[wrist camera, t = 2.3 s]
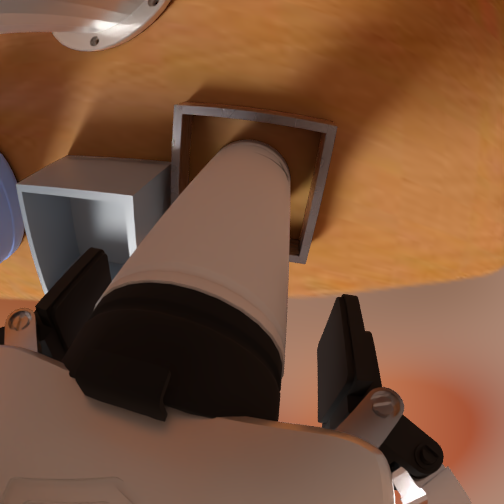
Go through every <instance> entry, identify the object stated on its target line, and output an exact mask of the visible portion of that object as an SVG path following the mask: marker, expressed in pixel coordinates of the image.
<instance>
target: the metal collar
mask: <svg viewBox="0 0 504 504" xmlns="http://www.w3.org/2000/svg"><path fill="white" fill-rule="evenodd" d="M193 115H204V116H215V117H225V118H234V119H243V120H250V121H258V122H265V123H272V124H278V125H284V126H290V127H296V128H302V129H307V130H312V131H317V132H322V133H321V138H320V144H319V149H318V154H317V159H316V164H315V169H314V173H313V178H312V183H311V188H310V192H309V197H308V202H307V206H306V211H305V215H304V220H303V224H302V229H301V233H300V238H299V240H296V239H291V238H290V242H289V262H295V263H301V264H306V260H307V256H308V252H309V249H310V245H311V241H312V237H313V233H314V229H315V225H316V221H317V217H318V212H319V208H320V204H321V200H322V196H323V191H324V187H325V183H326V178H327V174H328V169H329V165H330V160H331V155H332V151H333V146H334V141H335V136H336V131H337V126H336V125H335V124H334V123H333V121H329V120H324V119H319V118H314V117H309V116H303V115H298V114H292V113H286V112H280V111H274V110H267V109H260V108H252V107H244V106H235V105H225V104H214V103H201V102H183V103H179V104H176V105H174V117H173V135H172V161H171V205H172V204H173V202H174V201H175V200H176V199H177V198H178V197H179V195H180V194H181V193H182V192H183V191H184V190H185V188H186V187H187V186H188V185H189V168H190V149H191V134H192V120H193Z"/></svg>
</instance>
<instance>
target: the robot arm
mask: <svg viewBox="0 0 504 504" xmlns="http://www.w3.org/2000/svg"><path fill="white" fill-rule="evenodd" d="M157 1H159V2H158V4H157V5H156V6H155V4H156V2H157ZM170 1H171V0H0V34H4V33H21V32H52V34H53V35H54V37H55V38H56V39H57V40H58V41H59V42H60V43H61V44H62V45H64V46H66V47H68V48H70V49H73V50H78V51H101V50H106V49H109V48H113V47H116V46H118V45H120V44H123V43H125V42H127V41H129V40H130V39H132V38H133V37H135V36H137V35H138V34H140V33H141V32H142V31H144V30H145V29H146V28H147V27H148V26H149V25H151V24H152V23H153V22H154V21H155V20H156V19H157V18H158V16H159V15H160V14H161V13H162V12H163V11H164V10H165V8H166V7H167V5H168V4H169V2H170ZM111 282H112V280H111V274H110V268H109V262H108V256H107V254H105V252H104V250H102V249H98V248H93V247H90V248H89V249H88V250H87V251H86V252H85V253H84V254H83V255H82V256H81V257H80V258H79V259H78V260H77V261H76V262H75V263H74V264H73V265H72V266H71V267H70V268H69V269H68V271H67V272H66V273H65V274H64V275H63V276H62V277H61V278H60V279H59V280H58V281H57V282H56V283H55V285H54V286H53V287H52V288H51V289H50V290H49V291H48V292H47V293H46V295H45V296H44V297H43V298H42V299H41V300H40V301H39V303H38V304H37V305H36V306H35V307H36V310H35V312H33V311H32V310H31V309H28V308H20V309H17V310H15V311H13V312H12V313H11V314H10V315H9V316H8V317H7V319H6V322H5V327H2V328H0V504H395V495H394V490H398V492H399V493H400V495H401V496H402V498H401V499H400V500H401V501H402V503H403V504H471V501H470V499H469V497H468V496H467V494H466V492H465V491H464V490H463V488H462V486H461V485H460V483H459V482H458V480H457V479H456V477H455V476H454V475H453V473H452V472H451V470H450V469H449V467H446V468H445V467H444V465H443V464H442V463H443V457H444V456H443V451H442V449H441V447H440V446H439V445H438V443H437V442H435V441H434V440H433V439H432V438H431V437H429V436H428V435H427V434H425V433H424V432H423V431H422V430H421V429H419V428H418V427H417V426H416V425H415V424H413V423H412V422H411V421H410V420H409V419H407V418H406V417H405V416H404V415H403V411H404V404H403V401H402V399H401V397H400V396H399V395H398V394H397V393H396V392H395V391H393V390H391V389H389V388H385V387H382V384H381V379H380V373H379V368H378V362H377V356H376V351H375V346H374V342H373V337H372V334H371V332H369V331H365V329H364V324H363V319H362V314H361V309H360V304H359V300H358V297H357V296H353V295H347V294H343V295H342V296H341V297H337V298H336V301H335V303H334V306H333V309H332V311H331V314H330V317H329V320H328V322H327V324H326V327H325V329H324V332H323V334H322V337H321V339H320V341H319V344H318V349H317V360H318V422H320V423H322V428H320V427H314V426H307V425H300V424H292V423H284V422H278V421H271V420H265V419H259V418H253V417H247V416H244V417H216V418H213V419H212V418H207V417H202V416H197V415H193V414H188V413H185V412H183V411H180V410H177V409H175V408H171V407H168V406H165V405H164V406H165V408H166V411H167V414H168V415H167V418H166V421H165V422H164V421H160V420H156V419H154V418H151V417H148V416H145V415H142V414H139V413H136V412H133V411H130V410H127V409H124V408H120V407H117V406H114V405H110V404H107V403H104V402H101V401H98V400H95V399H93V398H90V397H88V396H85V395H84V393H83V392H82V390H81V389H80V387H79V386H78V384H77V382H76V379H75V378H72V377H70V376H69V372H70V371H69V370H68V369H67V368H66V367H65V365H64V363H62V362H61V361H62V359H63V357H64V356H65V354H66V353H67V351H68V349H69V348H70V346H71V344H72V343H73V341H74V340H75V338H76V337H77V335H78V333H79V332H80V330H81V329H82V327H83V326H84V325H85V323H86V322H87V321H88V318H89V317H90V315H91V314H92V312H93V311H94V308H95V304H96V303H97V302H98V300H99V299H100V297H101V296H102V294H103V293H104V292H105V290H106V289H107V287H108V286H109V285H110V283H111Z"/></svg>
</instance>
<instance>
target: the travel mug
mask: <svg viewBox="0 0 504 504" xmlns="http://www.w3.org/2000/svg"><path fill="white" fill-rule="evenodd" d="M289 242H290V172H289V168H288V166H287V163H286V161H285V160H284V158H283V157H282V155H281V154H280V153H279V152H278V151H277V150H276V149H274V148H273V147H271V146H270V145H268V144H266V143H263V142H261V141H256V140H239V141H235V142H232V143H230V144H228V145H226V146H225V147H223V148H222V149H220V151H219V152H218V153H217V154H216V155H215V156H214V157H213V158H212V159H211V160H210V161H209V162H208V164H207V165H206V166H205V167H204V168H203V169H202V170H201V171H200V172H199V174H198V175H197V176H196V177H195V178H194V179H193V180H192V182H191V183H190V184H189V185H188V186H187V187H186V188H185V190H184V191H183V192H182V193H181V194H180V195H179V197H178V198H177V199H176V200H175V201H174V202H173V204H172V205H171V206H170V207H169V208H168V210H167V211H166V212H165V213H164V215H163V216H162V217H161V218H160V219H159V221H158V222H157V223H156V224H155V226H154V227H153V228H152V229H151V231H150V232H149V233H148V234H147V236H146V237H145V238H144V239H143V241H142V242H141V243H140V245H139V246H138V247H137V248H136V250H135V251H134V252H133V254H132V255H131V256H130V258H129V259H128V260H127V261H126V263H125V264H124V265H123V267H122V268H121V270H120V271H119V272H118V274H117V275H116V276H115V278H114V279H113V280H112V282H111V283H110V285H109V286H108V287H107V289H106V290H105V292H104V293H103V294H102V296H101V297H100V299H99V300H98V302H97V303H96V304H95V308H94V311H93V312H92V314H91V315H90V317H89V318H88V321H87V322H86V323H85V325H84V326H83V327H82V329H81V330H80V332H79V333H78V335H77V337H76V338H75V340H74V341H73V343H72V344H71V346H70V348H69V349H68V351H67V353H66V354H65V356H64V357H63V359H62V361H61V362H62V363H64V365H65V367H66V368H67V369H68V370H69V371H70V372H69V376H70V377H72V378H75V379H76V382H77V384H78V386H79V387H80V389H81V390H82V392H83V393H84V395H85V396H88V397H90V398H93V399H95V400H98V401H101V402H104V403H107V404H110V405H114V406H117V407H120V408H124V409H127V410H130V411H133V412H136V413H139V414H142V415H145V416H148V417H151V418H154V419H156V420H160V421H164V422H165V421H166V418H167V415H168V414H167V411H166V408H165V406H168V407H171V408H175V409H177V410H180V411H183V412H185V413H188V414H193V415H197V416H202V417H207V418H212V419H213V418H216V417H244V416H247V417H253V418H259V419H265V420H271V421H278V417H279V405H280V390H281V379H282V377H283V374H284V362H285V361H284V360H285V344H286V324H287V303H288V276H289ZM164 405H165V406H164Z"/></svg>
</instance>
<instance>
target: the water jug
mask: <svg viewBox="0 0 504 504" xmlns="http://www.w3.org/2000/svg"><path fill="white" fill-rule="evenodd" d="M16 184H17V181H16V178H15V176H14V174H13V171H12V169H11V167H10V166H9V164H8V162H7V161H6V159H5V158H4V156H3V155H2V154H1V152H0V263H1V262H2V261H3V260H5V259H7V258H8V257H9V256H10V255H12V254H13V253H14V252H15V251H16V250H17V248H18V247H19V245H20V243H21V241H22V238H23V234H24V222H23V218H22V214H21V209H20V204H19V199H18V194H17V188H16Z"/></svg>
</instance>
